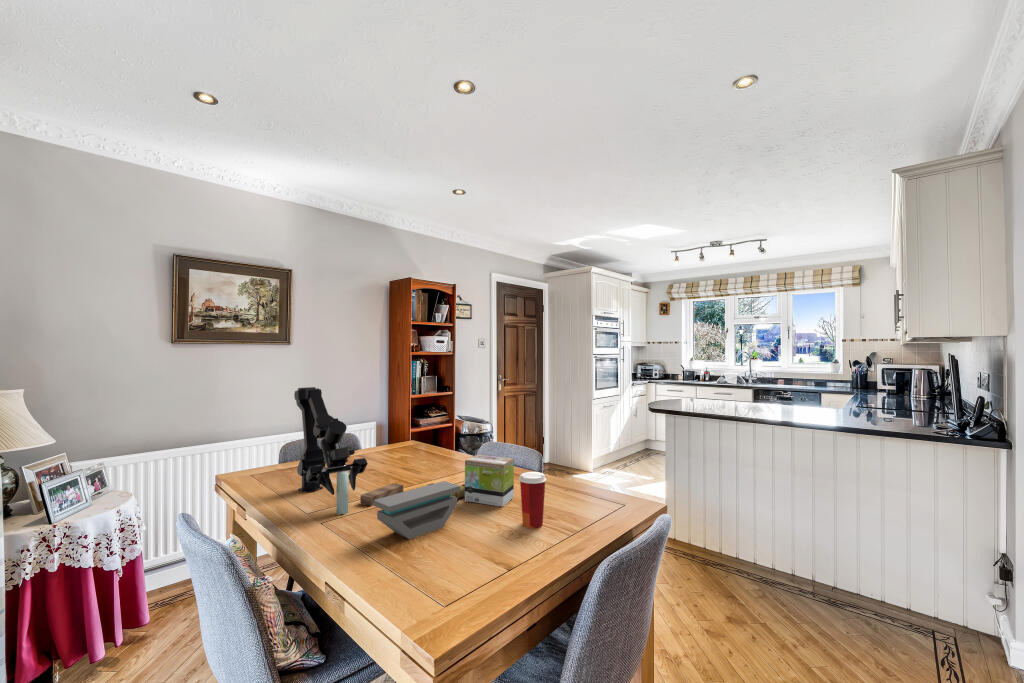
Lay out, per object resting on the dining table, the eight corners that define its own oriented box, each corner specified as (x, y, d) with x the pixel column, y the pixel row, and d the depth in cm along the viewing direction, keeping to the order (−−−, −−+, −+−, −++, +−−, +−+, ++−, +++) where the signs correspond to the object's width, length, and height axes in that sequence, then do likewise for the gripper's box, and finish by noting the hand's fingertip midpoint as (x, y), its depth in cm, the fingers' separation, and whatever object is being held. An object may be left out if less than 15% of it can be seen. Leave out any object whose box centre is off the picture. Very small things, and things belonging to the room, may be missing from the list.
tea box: (463, 502, 155) (463, 459, 155) (476, 493, 164) (476, 453, 165) (503, 507, 149) (503, 463, 150) (514, 498, 159) (514, 457, 159)
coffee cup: (549, 521, 137) (549, 472, 137) (542, 531, 129) (542, 479, 130) (523, 518, 140) (523, 470, 140) (515, 528, 132) (514, 477, 132)
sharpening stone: (388, 547, 119) (389, 506, 119) (373, 539, 124) (373, 500, 125) (459, 521, 137) (460, 485, 138) (443, 515, 143) (443, 481, 143)
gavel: (416, 482, 169) (437, 477, 176) (416, 494, 169) (437, 488, 176) (450, 490, 154) (472, 484, 162) (451, 503, 154) (472, 496, 161)
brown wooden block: (370, 506, 151) (371, 497, 151) (360, 504, 153) (360, 495, 153) (403, 493, 165) (403, 485, 165) (393, 491, 167) (393, 483, 167)
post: (333, 513, 144) (334, 473, 144) (342, 510, 147) (343, 470, 147) (341, 515, 142) (342, 474, 142) (350, 512, 145) (350, 472, 146)
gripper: (309, 441, 142) (320, 483, 133) (365, 434, 154) (379, 472, 146) (301, 461, 148) (311, 503, 139) (356, 453, 160) (369, 491, 151)
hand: (344, 492), depth 144 cm, fingers open, 6 cm apart
